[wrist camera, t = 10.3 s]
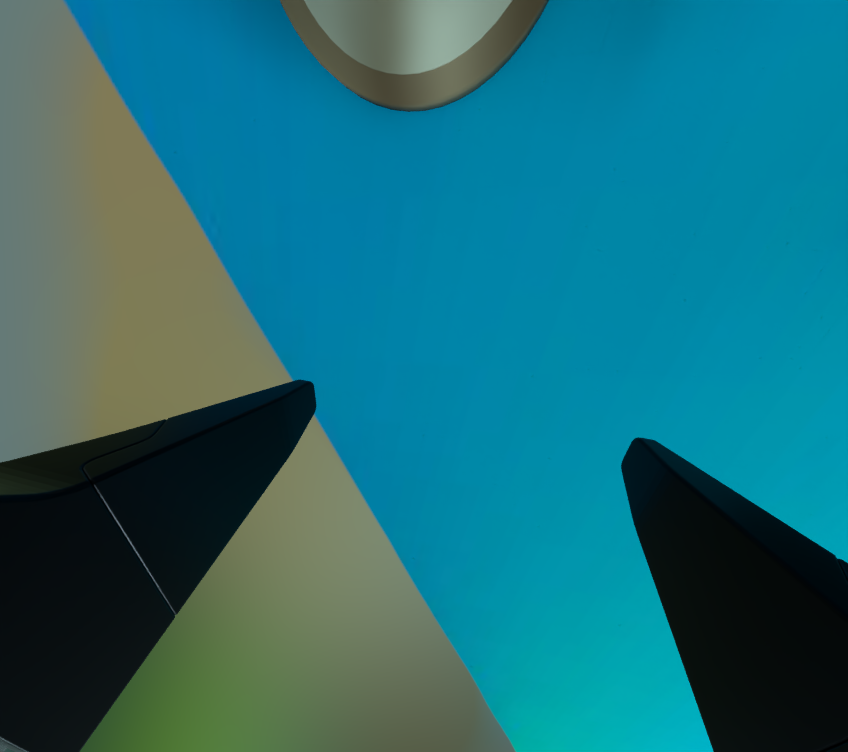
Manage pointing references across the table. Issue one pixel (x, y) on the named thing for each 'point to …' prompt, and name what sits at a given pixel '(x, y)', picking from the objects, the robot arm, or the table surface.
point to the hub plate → (413, 45)
